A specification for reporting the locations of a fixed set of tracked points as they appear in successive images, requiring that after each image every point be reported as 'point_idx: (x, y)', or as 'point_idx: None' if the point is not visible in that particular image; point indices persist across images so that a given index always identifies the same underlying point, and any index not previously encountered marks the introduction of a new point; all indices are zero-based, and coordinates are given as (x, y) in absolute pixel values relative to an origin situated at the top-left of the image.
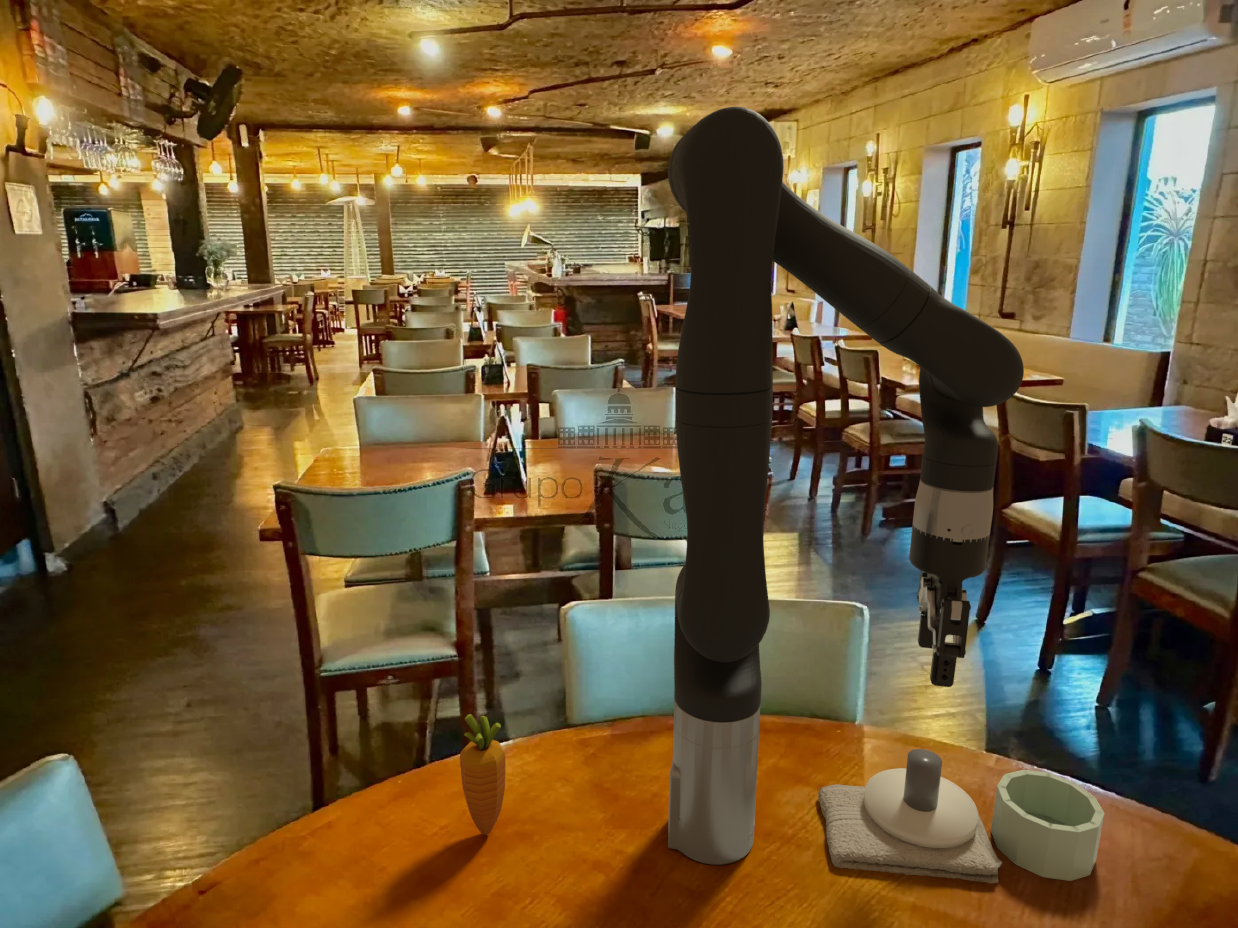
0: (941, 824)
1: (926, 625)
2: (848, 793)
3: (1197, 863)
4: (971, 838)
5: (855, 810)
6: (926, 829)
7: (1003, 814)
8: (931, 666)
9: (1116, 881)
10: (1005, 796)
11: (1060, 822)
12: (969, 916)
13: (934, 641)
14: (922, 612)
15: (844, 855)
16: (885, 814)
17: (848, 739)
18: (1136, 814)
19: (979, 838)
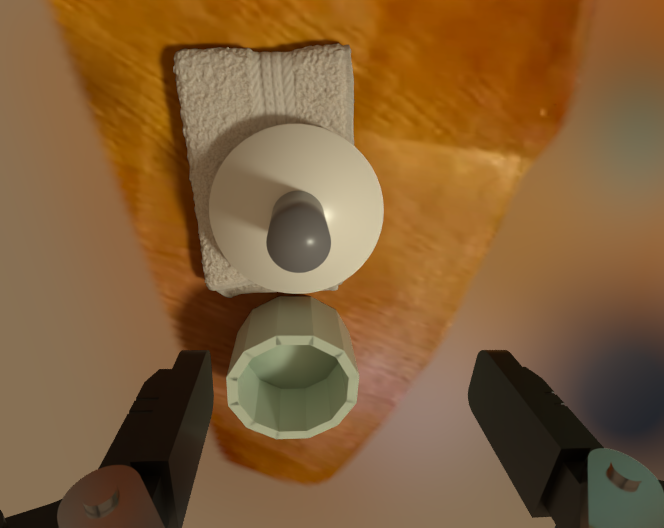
0: (246, 237)
1: (526, 434)
2: (329, 98)
3: (296, 465)
4: None
5: (287, 106)
6: (227, 213)
7: (273, 325)
8: (191, 389)
9: None
10: (287, 340)
11: (327, 374)
12: (140, 237)
13: (108, 525)
14: (584, 474)
15: (175, 70)
16: (251, 152)
17: (516, 128)
18: (365, 441)
19: None
